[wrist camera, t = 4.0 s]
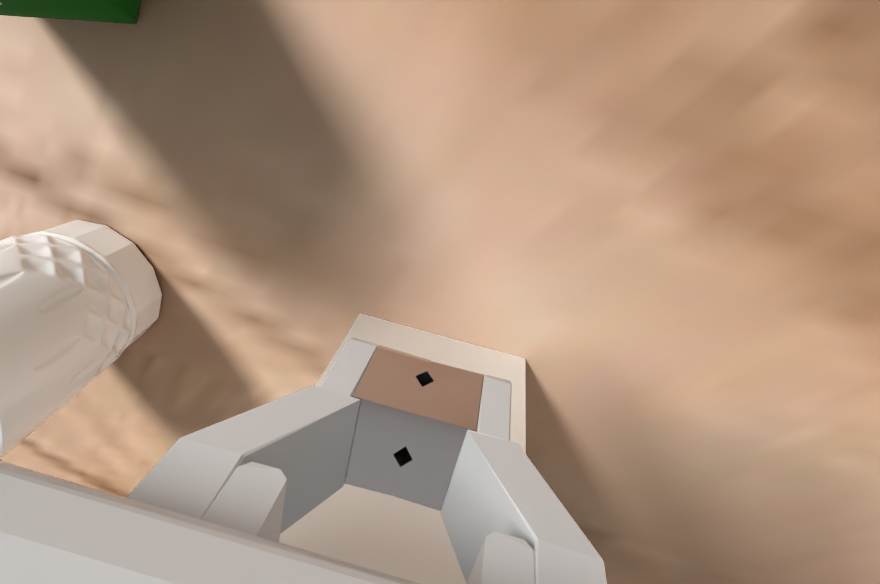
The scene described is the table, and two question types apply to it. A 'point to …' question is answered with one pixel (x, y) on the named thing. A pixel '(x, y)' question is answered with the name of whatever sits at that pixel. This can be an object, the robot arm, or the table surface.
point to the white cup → (65, 317)
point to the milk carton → (74, 9)
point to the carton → (384, 516)
